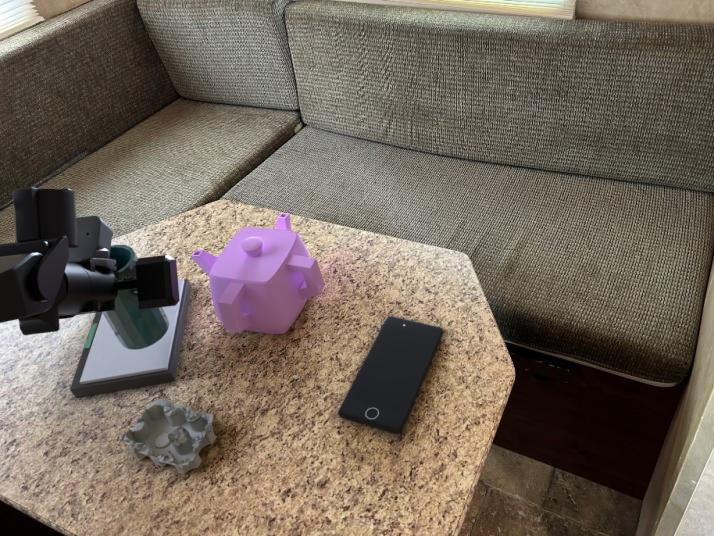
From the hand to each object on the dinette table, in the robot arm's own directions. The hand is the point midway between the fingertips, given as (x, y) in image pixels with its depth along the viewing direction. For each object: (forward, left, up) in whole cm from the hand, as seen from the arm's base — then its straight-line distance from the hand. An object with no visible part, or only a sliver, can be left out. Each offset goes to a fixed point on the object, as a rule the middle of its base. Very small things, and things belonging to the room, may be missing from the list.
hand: (129, 290), depth 82 cm
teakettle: (+16, +8, -14) cm, 22 cm away
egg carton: (+4, -16, -14) cm, 21 cm away
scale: (-4, +4, -14) cm, 15 cm away
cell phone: (+34, -11, -14) cm, 38 cm away
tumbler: (0, -1, -7) cm, 7 cm away
